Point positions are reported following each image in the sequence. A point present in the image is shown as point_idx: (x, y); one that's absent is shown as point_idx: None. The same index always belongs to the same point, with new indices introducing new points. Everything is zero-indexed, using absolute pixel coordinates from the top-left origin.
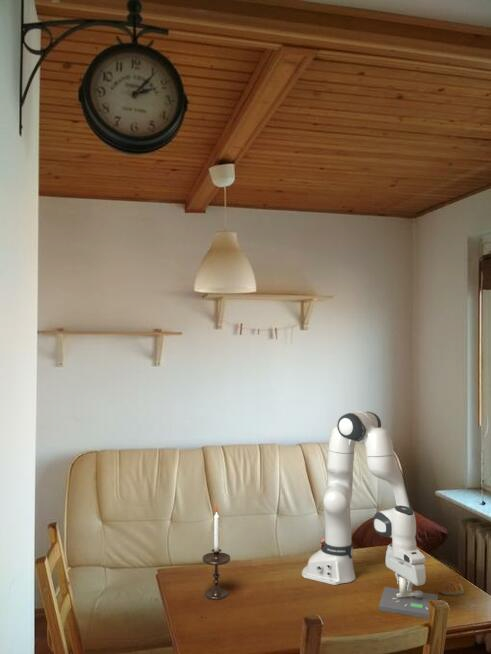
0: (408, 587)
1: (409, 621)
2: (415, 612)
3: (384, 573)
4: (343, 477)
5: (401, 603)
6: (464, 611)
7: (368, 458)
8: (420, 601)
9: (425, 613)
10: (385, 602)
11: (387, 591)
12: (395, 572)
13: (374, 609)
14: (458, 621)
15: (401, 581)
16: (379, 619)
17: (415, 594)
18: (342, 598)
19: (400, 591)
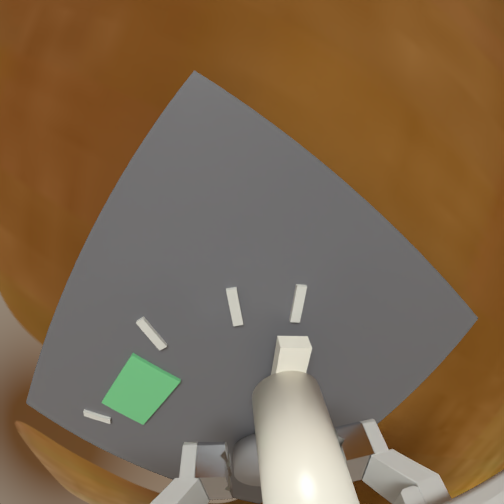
0: (180, 475)
1: (4, 241)
2: (49, 331)
3: None
4: None
5: (192, 315)
6: (127, 496)
7: None
8: (201, 435)
9: (37, 373)
10: (249, 177)
11: (426, 307)
12: (441, 496)
13: (225, 51)
14: (40, 442)
15: (286, 486)
16: (63, 35)
17: (251, 452)
18: None
19: (284, 391)
